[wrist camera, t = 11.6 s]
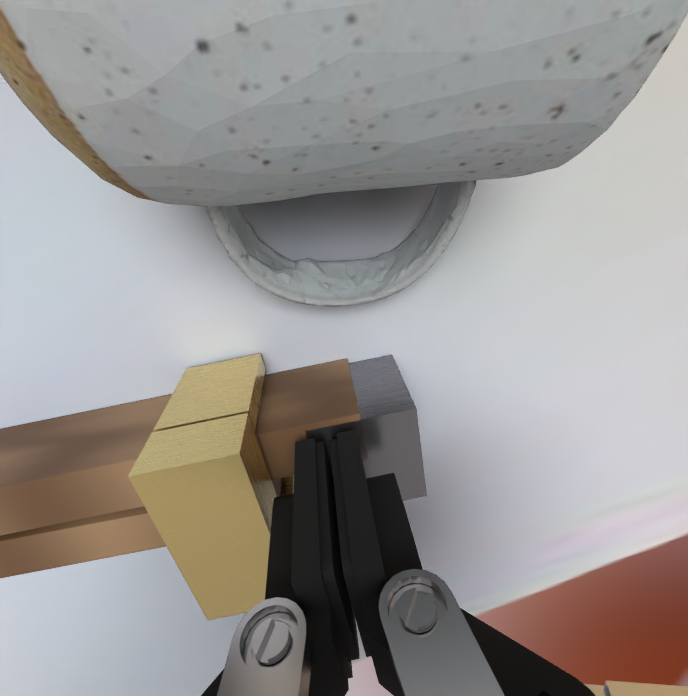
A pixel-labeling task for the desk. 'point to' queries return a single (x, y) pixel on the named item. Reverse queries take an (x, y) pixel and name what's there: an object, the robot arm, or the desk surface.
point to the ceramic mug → (328, 104)
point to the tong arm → (81, 540)
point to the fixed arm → (130, 438)
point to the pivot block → (384, 425)
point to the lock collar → (213, 485)
